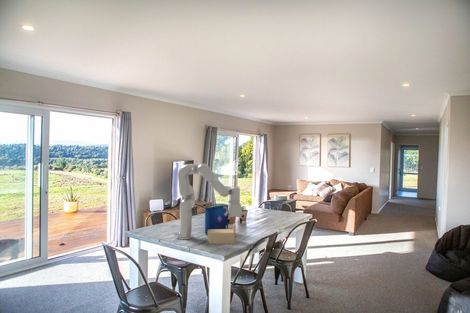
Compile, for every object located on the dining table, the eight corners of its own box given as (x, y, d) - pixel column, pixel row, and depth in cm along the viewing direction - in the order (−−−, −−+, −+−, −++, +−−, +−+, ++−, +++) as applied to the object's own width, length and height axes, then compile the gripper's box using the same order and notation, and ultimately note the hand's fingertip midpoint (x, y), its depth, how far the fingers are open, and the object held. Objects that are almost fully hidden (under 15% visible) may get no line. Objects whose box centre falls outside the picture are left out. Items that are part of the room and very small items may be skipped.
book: (207, 236, 264) (208, 206, 264) (203, 234, 270) (204, 205, 270) (228, 232, 277) (229, 204, 277) (224, 231, 283) (224, 203, 283)
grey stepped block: (210, 242, 243) (211, 225, 243) (208, 238, 253) (209, 223, 253) (235, 241, 248) (236, 225, 248) (233, 237, 257) (233, 222, 257)
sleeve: (209, 243, 242) (209, 233, 242) (207, 239, 254) (207, 229, 254) (234, 242, 246) (234, 232, 246) (231, 238, 258) (231, 228, 258)
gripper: (225, 203, 247) (225, 225, 247) (246, 202, 250) (246, 224, 250) (223, 201, 254) (223, 223, 254) (244, 201, 258) (244, 222, 258)
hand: (234, 223), depth 252 cm, fingers open, 9 cm apart
